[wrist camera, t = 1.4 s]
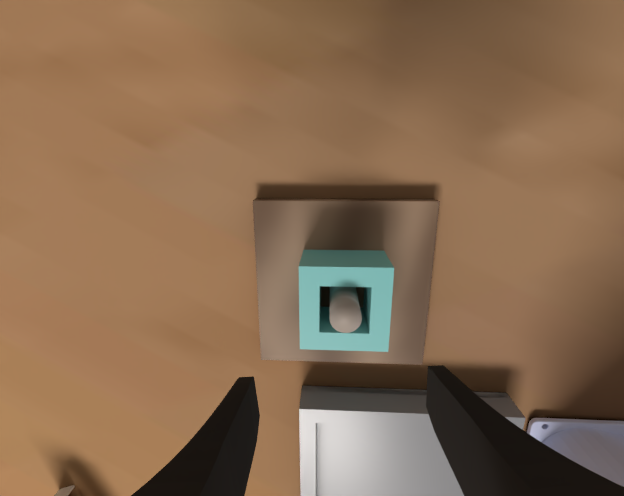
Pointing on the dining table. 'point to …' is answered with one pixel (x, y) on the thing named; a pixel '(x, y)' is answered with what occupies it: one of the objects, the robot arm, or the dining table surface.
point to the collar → (345, 273)
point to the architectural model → (65, 491)
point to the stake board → (344, 234)
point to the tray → (377, 442)
